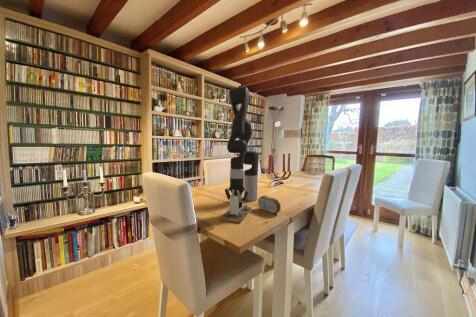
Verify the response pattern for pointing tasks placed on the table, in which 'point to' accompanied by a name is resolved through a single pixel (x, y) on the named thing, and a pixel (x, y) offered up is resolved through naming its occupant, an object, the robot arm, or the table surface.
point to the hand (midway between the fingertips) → (236, 207)
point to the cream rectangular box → (235, 204)
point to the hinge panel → (238, 217)
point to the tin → (269, 204)
